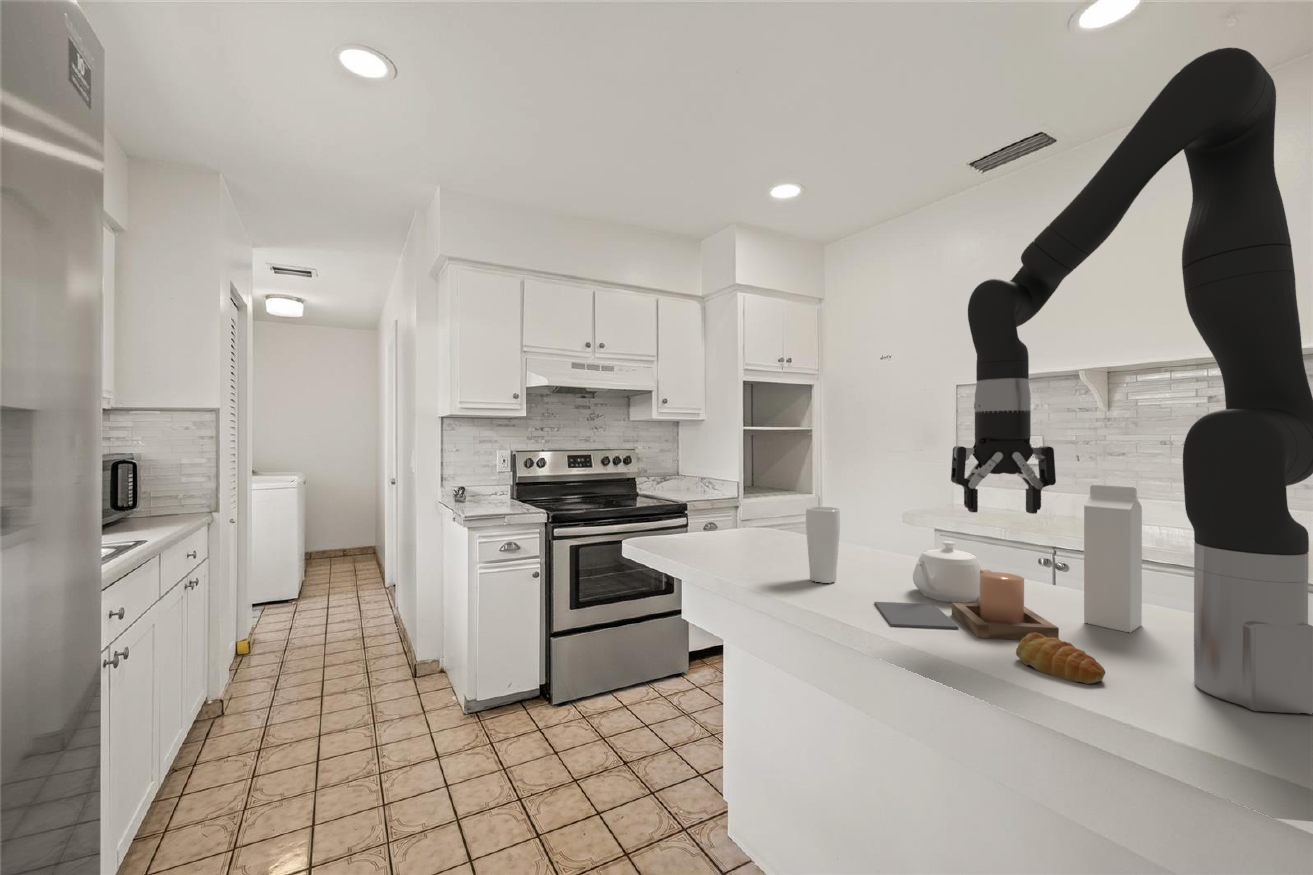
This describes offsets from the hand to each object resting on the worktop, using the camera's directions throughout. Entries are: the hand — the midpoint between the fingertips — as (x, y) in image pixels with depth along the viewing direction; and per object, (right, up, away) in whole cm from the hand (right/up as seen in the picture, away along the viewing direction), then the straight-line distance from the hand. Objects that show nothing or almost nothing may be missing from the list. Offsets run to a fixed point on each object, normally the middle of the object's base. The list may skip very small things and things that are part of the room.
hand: (1002, 512), depth 90 cm
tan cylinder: (0, -18, +2) cm, 18 cm away
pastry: (-2, -19, -15) cm, 24 cm away
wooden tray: (0, -18, 0) cm, 18 cm away
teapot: (0, -18, +17) cm, 25 cm away
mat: (-11, -18, +6) cm, 22 cm away
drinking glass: (-20, -18, +28) cm, 39 cm away
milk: (+18, -18, +1) cm, 26 cm away
